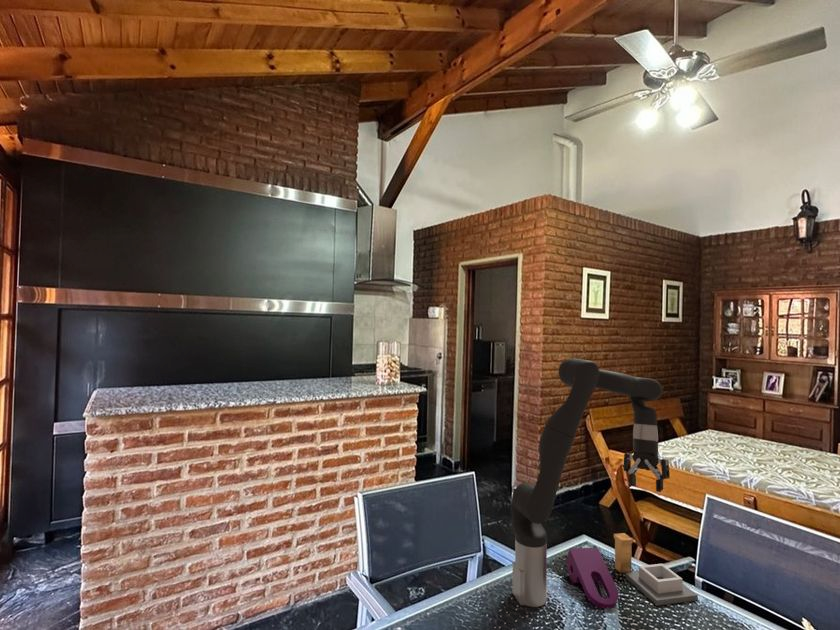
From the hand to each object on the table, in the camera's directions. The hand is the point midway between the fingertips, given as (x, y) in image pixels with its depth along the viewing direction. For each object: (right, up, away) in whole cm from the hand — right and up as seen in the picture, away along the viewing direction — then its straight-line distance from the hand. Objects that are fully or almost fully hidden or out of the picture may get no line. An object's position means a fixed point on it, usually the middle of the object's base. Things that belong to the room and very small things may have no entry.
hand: (645, 488), depth 144 cm
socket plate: (0, -28, -8) cm, 29 cm away
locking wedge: (-7, -28, +2) cm, 29 cm away
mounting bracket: (-21, -28, -9) cm, 36 cm away
